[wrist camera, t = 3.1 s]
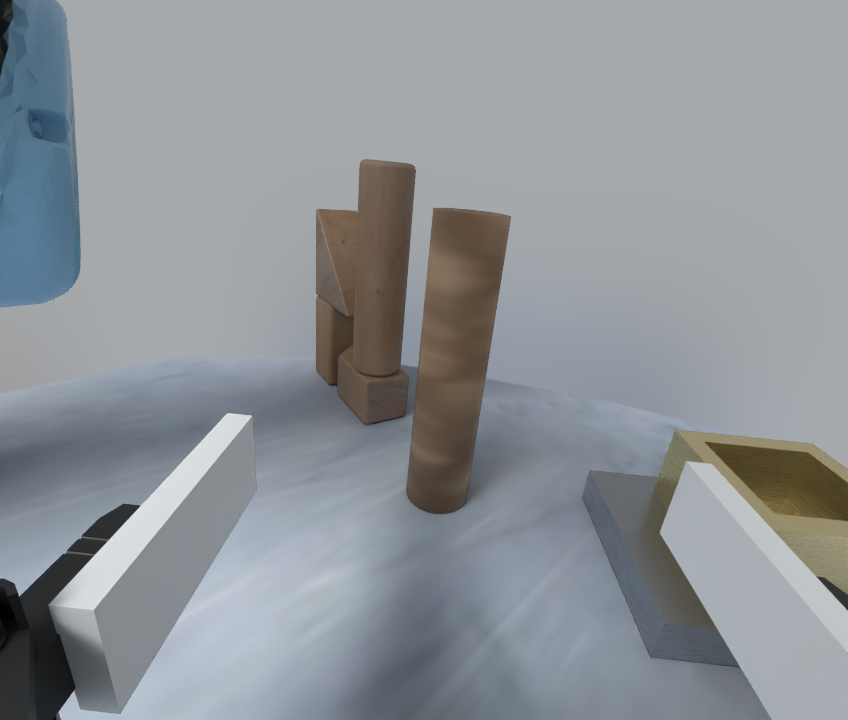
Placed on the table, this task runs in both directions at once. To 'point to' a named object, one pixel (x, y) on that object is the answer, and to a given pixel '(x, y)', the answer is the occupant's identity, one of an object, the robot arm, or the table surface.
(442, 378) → the wooden cylinder
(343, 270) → the wooden block stack
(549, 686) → the table surface
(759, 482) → the yellow socket on base
